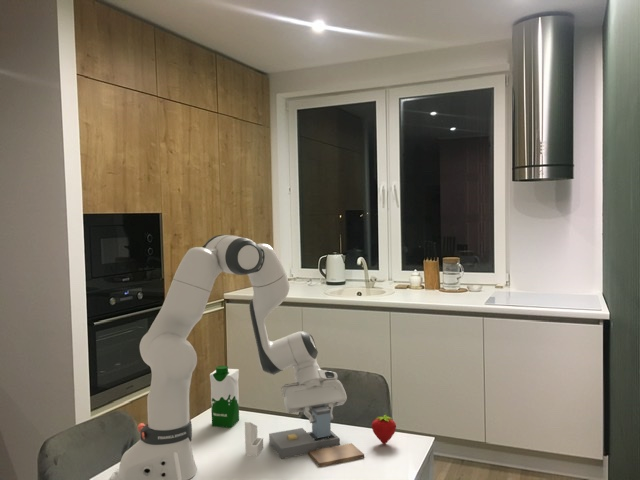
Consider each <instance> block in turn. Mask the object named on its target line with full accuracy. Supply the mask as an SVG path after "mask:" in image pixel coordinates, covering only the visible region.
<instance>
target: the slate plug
mask: <svg viewBox="0 0 640 480" xmlns="http://www.w3.org/2000/svg"><path fill="white" fill-rule="evenodd" d="M311 415H315V418H316V422H315V423H311V432H312V433H313V434H314V435H315V436H316V437H317V438H316V439H321V438H320V437H322V438H325V436H331V431H332V430H331V424H332V423H331V421H332V420H330V409H329V408H327V407H326V406H325V405H324V406H318V407H312V410H311Z"/></svg>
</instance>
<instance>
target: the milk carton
mask: <svg viewBox="0 0 640 480" xmlns="http://www.w3.org/2000/svg"><path fill="white" fill-rule="evenodd" d="M239 374H240V369H238V368H229V366H227V365H219V366H216V367H215V370H214V371H213V372H210V374H209V380H210V402H211V403H210V405H211V409H210V412H211V426H212V427H215V428H216V427H217V428H228V429H229V428H230V429H231V428H232V427H234V426H235V425H236V424H237V423H238V422H239V421H240V407H239V406H240V401H239V400H240V397H239V395H240V394H239V392H240V391H239V377H240V375H239Z"/></svg>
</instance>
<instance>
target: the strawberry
mask: <svg viewBox="0 0 640 480" xmlns="http://www.w3.org/2000/svg"><path fill="white" fill-rule="evenodd" d="M396 429H397V423H396V422H395V421H394V419H393V418H392V417H391V416H387V414H386V413H384V415H382V416H377V417H375V419H373V421H372V423H371V430H372V432H373V434H374V435H375V436H376V437H377V439H378V440H379V441H380V442H381V444H383V445H385V444H387V443H388V442H389V441H390V440H391V439H392V437H393V436H394V434H395V433H396Z"/></svg>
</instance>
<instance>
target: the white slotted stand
mask: <svg viewBox="0 0 640 480" xmlns="http://www.w3.org/2000/svg"><path fill="white" fill-rule="evenodd" d="M244 439H245V441H244V443H245V444H244V445H245V456H246V457H247V456H248V457H258V456H259V455H260V454H261V453H262V451H263V449H264V438H263V437H258V426H257V425H256V424H254V423H253V422H251V421H250V422H249V421H245V422H244Z"/></svg>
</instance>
